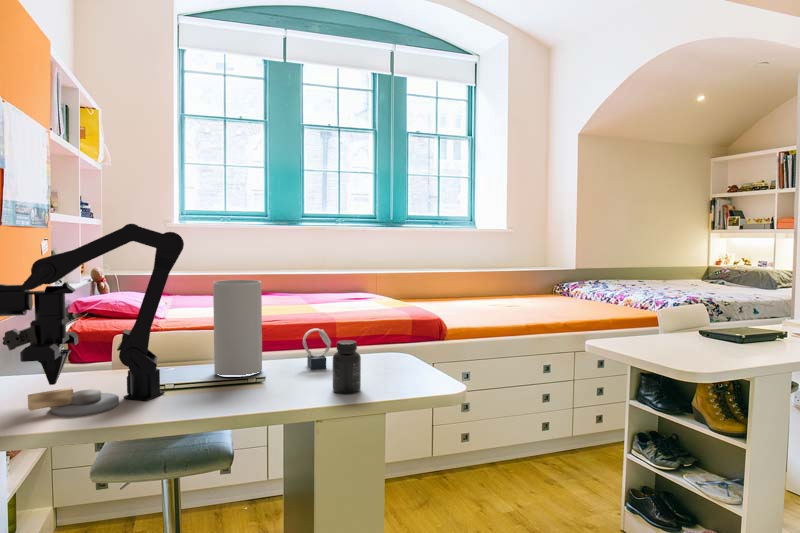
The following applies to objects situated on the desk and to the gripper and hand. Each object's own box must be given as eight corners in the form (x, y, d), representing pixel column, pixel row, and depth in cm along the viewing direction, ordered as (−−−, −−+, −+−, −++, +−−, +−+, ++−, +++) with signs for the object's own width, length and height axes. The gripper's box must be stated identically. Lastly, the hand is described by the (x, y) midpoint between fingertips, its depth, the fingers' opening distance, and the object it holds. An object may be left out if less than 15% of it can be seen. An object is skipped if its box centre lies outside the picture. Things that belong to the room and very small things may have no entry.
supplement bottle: (356, 385, 141) (357, 338, 140) (363, 393, 134) (363, 343, 133) (330, 387, 138) (330, 340, 138) (335, 395, 132) (335, 345, 131)
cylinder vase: (205, 377, 148) (203, 283, 146) (229, 366, 160) (228, 279, 158) (248, 380, 145) (247, 284, 143) (270, 369, 157) (269, 280, 155)
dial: (96, 394, 127) (96, 380, 126) (104, 400, 122) (104, 386, 122) (26, 407, 117) (25, 392, 117) (31, 414, 113) (31, 398, 113)
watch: (333, 368, 158) (333, 329, 158) (304, 370, 156) (304, 331, 155) (328, 363, 164) (328, 326, 163) (301, 365, 161) (301, 328, 160)
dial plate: (132, 400, 127) (131, 394, 127) (87, 419, 115) (87, 412, 114) (84, 396, 130) (84, 390, 130) (35, 413, 118) (35, 407, 118)
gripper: (23, 309, 129) (26, 376, 130) (-11, 322, 111) (-8, 399, 112) (77, 308, 132) (79, 373, 133) (52, 320, 114) (55, 395, 115)
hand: (52, 384), depth 123 cm, fingers closed
